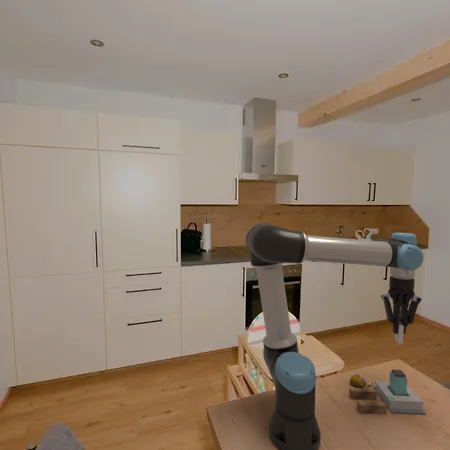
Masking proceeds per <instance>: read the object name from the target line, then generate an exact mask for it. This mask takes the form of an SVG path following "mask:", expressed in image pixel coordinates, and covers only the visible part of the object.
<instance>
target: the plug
mask: <svg viewBox="0 0 450 450" xmlns="http://www.w3.org/2000/svg"><path fill="white" fill-rule="evenodd" d="M389 382H390V384H389V390H390V391H391V392H392V394H393V395H394V396H407V385H408V377H407V376H406V374H405V372H403V370H401V369H391V371H389Z"/></svg>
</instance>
